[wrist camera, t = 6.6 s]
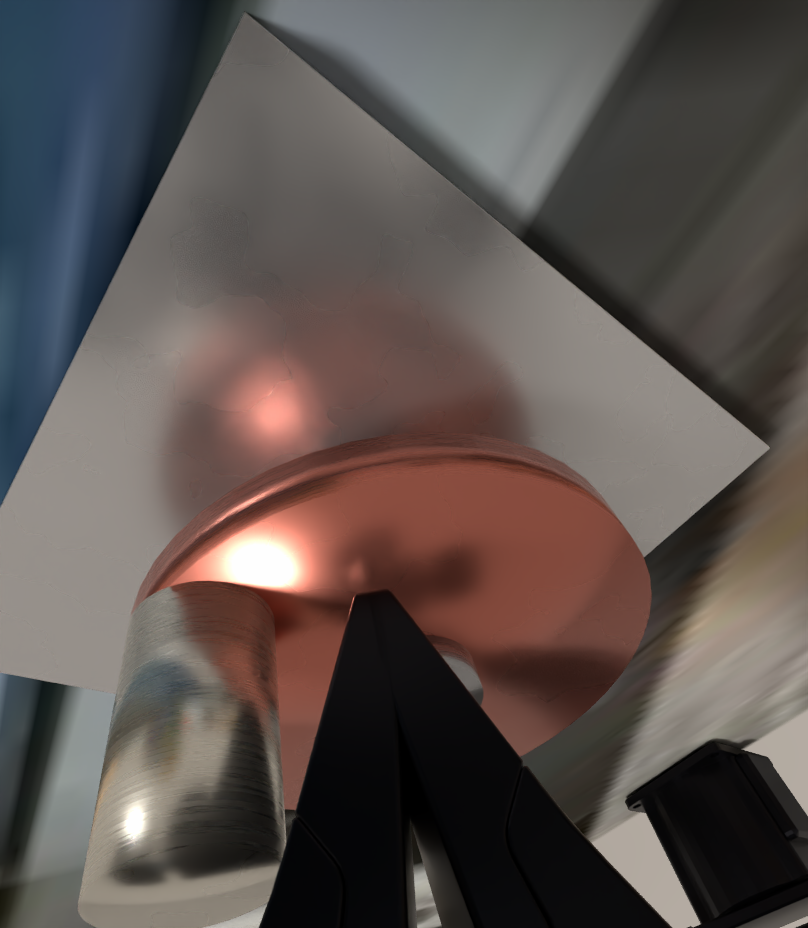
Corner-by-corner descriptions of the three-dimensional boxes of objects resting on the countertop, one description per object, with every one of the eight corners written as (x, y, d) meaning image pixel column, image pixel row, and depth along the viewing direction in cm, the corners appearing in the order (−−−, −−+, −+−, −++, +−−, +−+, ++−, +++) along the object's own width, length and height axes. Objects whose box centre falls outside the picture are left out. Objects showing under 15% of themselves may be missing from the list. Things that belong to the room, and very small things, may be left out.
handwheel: (712, 551, 14) (896, 769, 10) (428, 784, 19) (479, 1003, 14) (309, 310, 9) (367, 582, 5) (32, 724, 13) (-64, 1054, 9)
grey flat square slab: (412, 713, 24) (438, 819, 21) (-51, 610, 16) (-122, 757, 13) (736, 418, 18) (839, 506, 15) (244, 11, 10) (246, 17, 7)
